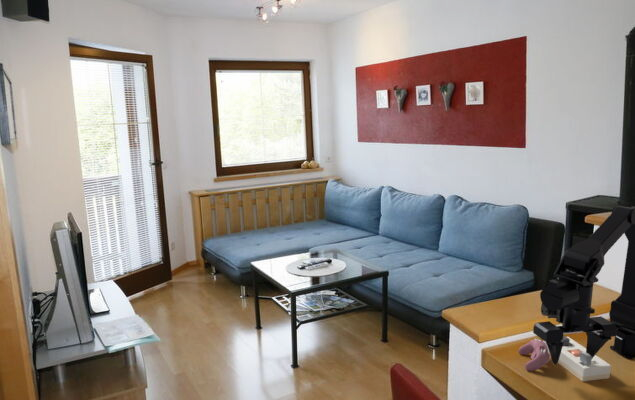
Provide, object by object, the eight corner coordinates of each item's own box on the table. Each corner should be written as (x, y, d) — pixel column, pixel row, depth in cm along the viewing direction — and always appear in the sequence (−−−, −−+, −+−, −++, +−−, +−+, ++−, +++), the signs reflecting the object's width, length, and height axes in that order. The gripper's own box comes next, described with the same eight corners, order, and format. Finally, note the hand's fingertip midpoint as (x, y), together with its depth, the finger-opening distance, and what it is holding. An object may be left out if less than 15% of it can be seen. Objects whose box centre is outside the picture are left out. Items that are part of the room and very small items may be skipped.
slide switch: (583, 367, 125) (584, 351, 124) (589, 372, 123) (591, 355, 122) (578, 368, 125) (580, 351, 124) (585, 373, 123) (587, 356, 122)
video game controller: (540, 378, 126) (556, 356, 124) (523, 369, 127) (539, 347, 125) (531, 359, 136) (546, 338, 134) (516, 350, 136) (530, 330, 134)
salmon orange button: (577, 356, 131) (578, 349, 131) (586, 362, 128) (586, 354, 128) (567, 357, 130) (568, 350, 130) (575, 363, 127) (576, 355, 127)
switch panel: (566, 348, 138) (568, 336, 138) (609, 378, 123) (610, 365, 123) (542, 350, 137) (543, 339, 136) (582, 381, 122) (583, 368, 121)
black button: (563, 342, 136) (564, 335, 136) (571, 347, 133) (572, 340, 133) (554, 343, 136) (554, 336, 135) (561, 348, 133) (562, 341, 132)
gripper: (588, 286, 129) (582, 343, 132) (522, 292, 126) (517, 350, 129) (621, 303, 119) (614, 364, 122) (550, 309, 115) (545, 372, 118)
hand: (571, 361), depth 123 cm, fingers open, 9 cm apart
